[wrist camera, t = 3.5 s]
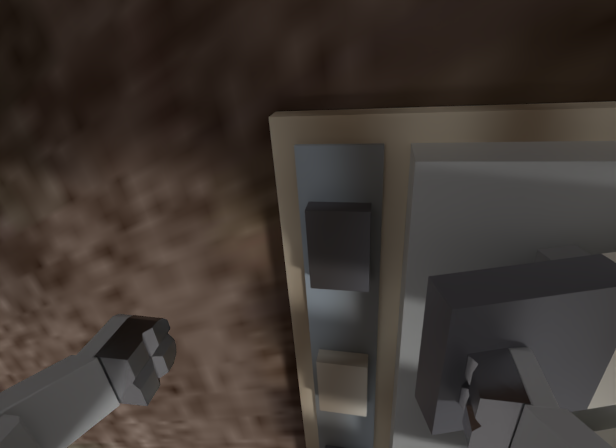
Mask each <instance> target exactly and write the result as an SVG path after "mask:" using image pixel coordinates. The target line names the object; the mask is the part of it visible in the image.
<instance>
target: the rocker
mask: <svg viewBox="0 0 616 448" xmlns="http://www.w3.org/2000/svg"><path fill="white" fill-rule="evenodd" d="M519 347H528V348H530V349H531V350H532V351H533V354H534V356H535V358H536V360H537V362H538V364H539V366H540V368H541V370H542V372H543V374H544V376H545V378H546V381H547V383H548V385H549V387H550V389H551V391H552V393H553V395H554V397H555V399H556V401H557V403H558V405H559V408H561V409H568V410H569V411H570V412H574V411H580V410H586V409H592V408H598V407H604V406H610V405H616V252H610V253H603V254H595V255H591V254H589V253H588V252H586V251H585V250H583V249H582V248H580V247H579V246H577V245H571V246H563V247H555V248H547V249H539V250H537V253H536V257H535V260H534V263H526V264H519V265H511V266H503V267H496V268H488V269H480V270H473V271H465V272H457V273H450V274H442V275H435V276H428V285H427V293H426V302H425V310H424V319H423V328H422V336H421V345H420V353H419V362H418V371H417V379H416V388H415V398H416V400H417V403H418V405H419V407H420V409H421V412H422V414H423V416H424V419H425V421H426V423H427V425H428V428H429V430H430V432H431V435H437V434H443V433H449V432H455V431H461V430H464V428H463V424H462V420H463V415H464V410H463V409H462V408H461V407H460V406H459V404H458V401H459V396H460V390H461V386H462V385H463V384H464V383H465V382H466V381H467V379H466V377H465V375H464V371H465V366H466V361H467V357H468V354H470V353H477V352H483V351H490V350H496V349H502V348H519Z"/></svg>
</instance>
